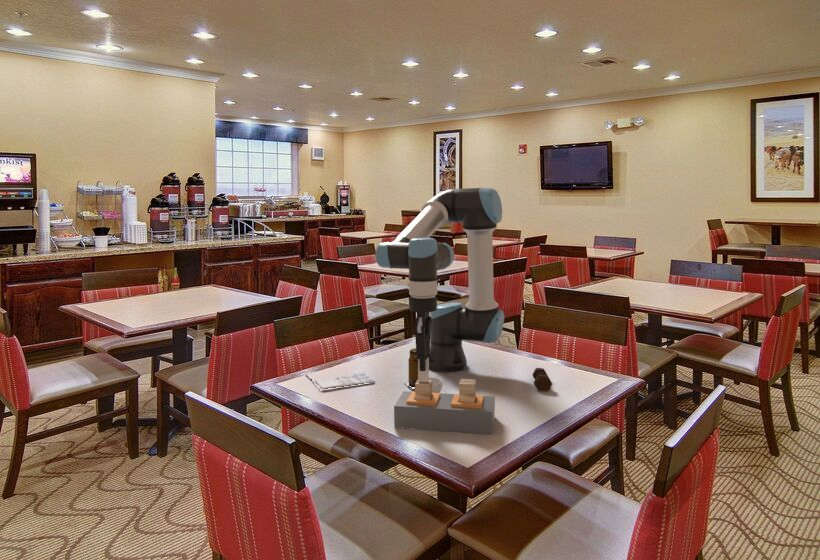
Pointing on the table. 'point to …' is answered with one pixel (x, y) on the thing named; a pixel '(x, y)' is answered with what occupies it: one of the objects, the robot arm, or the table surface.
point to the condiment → (413, 368)
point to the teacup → (437, 385)
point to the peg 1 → (423, 390)
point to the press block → (445, 413)
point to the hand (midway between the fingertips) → (423, 381)
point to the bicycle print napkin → (353, 380)
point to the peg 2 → (467, 391)
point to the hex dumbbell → (541, 380)
